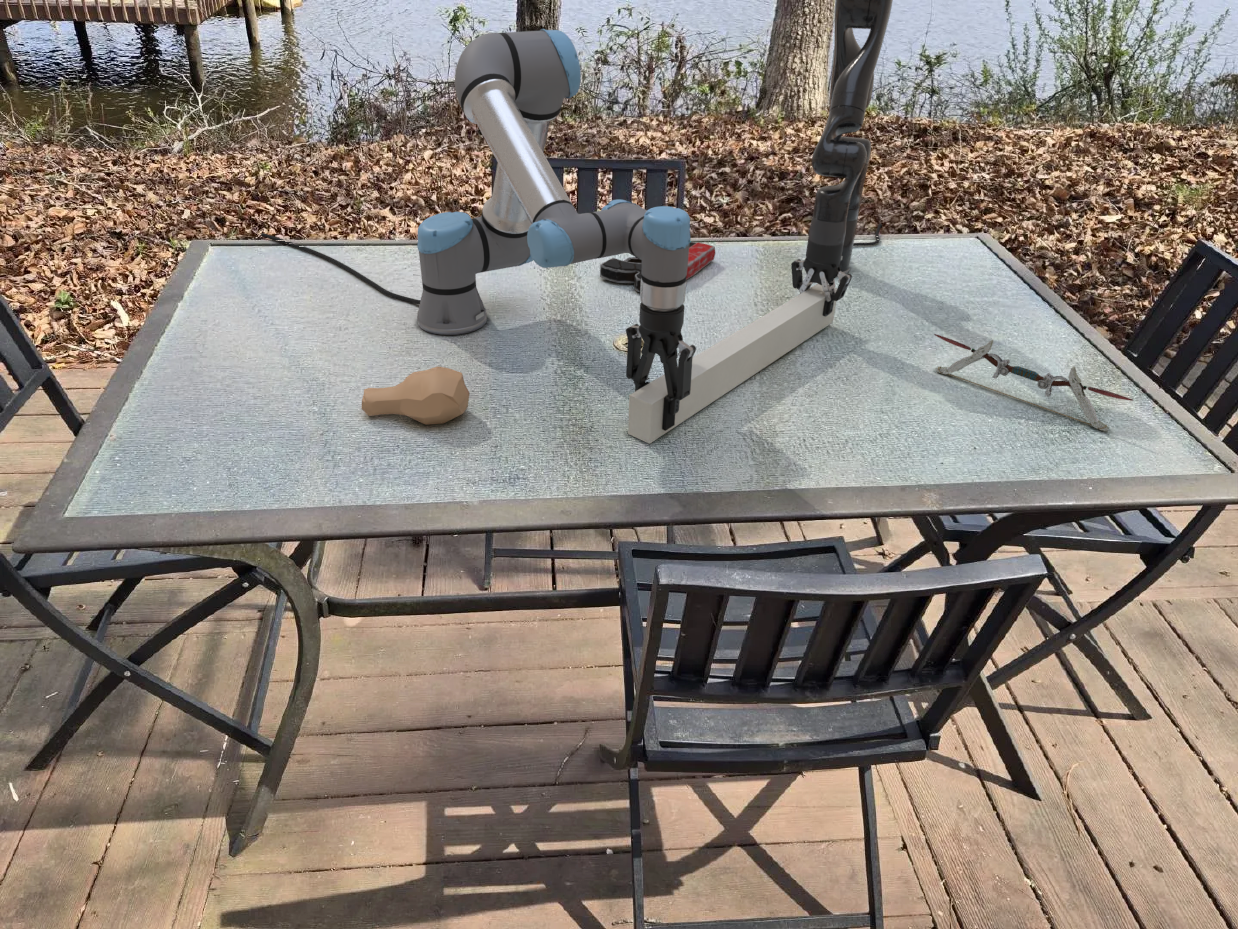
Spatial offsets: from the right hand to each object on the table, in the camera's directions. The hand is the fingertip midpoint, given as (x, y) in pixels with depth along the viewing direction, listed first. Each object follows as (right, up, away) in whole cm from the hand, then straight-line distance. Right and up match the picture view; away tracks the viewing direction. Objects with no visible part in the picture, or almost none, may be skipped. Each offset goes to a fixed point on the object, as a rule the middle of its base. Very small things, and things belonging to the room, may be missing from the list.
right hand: (814, 311), depth 196 cm
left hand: (-37, -26, -36) cm, 58 cm away
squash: (-81, -25, -33) cm, 91 cm away
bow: (+35, -21, -22) cm, 47 cm away
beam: (-19, -15, -16) cm, 29 cm away
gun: (-33, +15, +29) cm, 47 cm away
